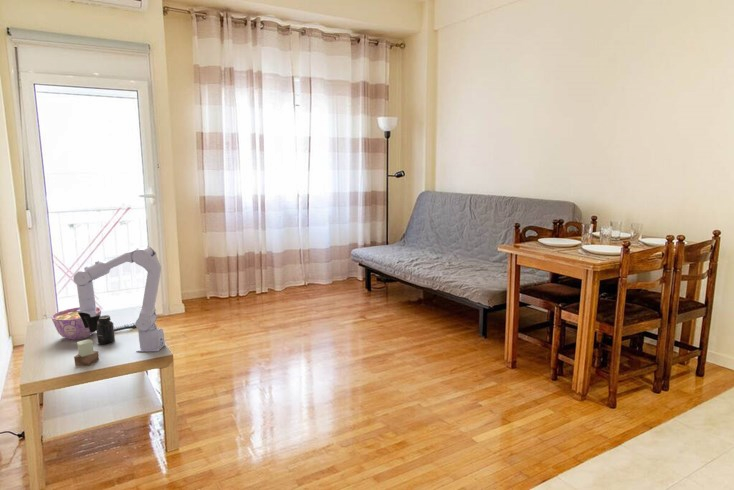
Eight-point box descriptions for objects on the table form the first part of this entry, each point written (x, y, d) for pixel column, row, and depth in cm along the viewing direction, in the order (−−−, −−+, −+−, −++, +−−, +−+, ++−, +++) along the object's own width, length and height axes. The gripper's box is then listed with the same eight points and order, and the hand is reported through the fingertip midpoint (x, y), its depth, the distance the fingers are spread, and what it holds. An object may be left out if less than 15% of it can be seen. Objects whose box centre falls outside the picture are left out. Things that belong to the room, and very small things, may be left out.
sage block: (90, 350, 197) (89, 339, 196) (94, 353, 194) (92, 341, 193) (78, 353, 194) (76, 342, 193) (81, 356, 191) (79, 344, 190)
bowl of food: (65, 348, 211) (62, 322, 209) (47, 338, 223) (43, 314, 221) (112, 334, 226) (109, 310, 224) (92, 326, 238) (89, 303, 236)
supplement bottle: (96, 346, 212) (93, 320, 210) (100, 340, 219) (97, 315, 217) (113, 344, 214) (110, 318, 212) (116, 338, 220) (113, 313, 218)
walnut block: (99, 360, 197) (98, 351, 197) (89, 366, 191) (88, 356, 191) (85, 359, 198) (84, 350, 197) (75, 366, 192) (74, 356, 191)
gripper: (71, 297, 203) (75, 327, 205) (80, 303, 192) (84, 336, 195) (89, 293, 208) (93, 323, 210) (100, 300, 197) (103, 331, 200)
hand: (90, 329), depth 203 cm, fingers open, 7 cm apart
